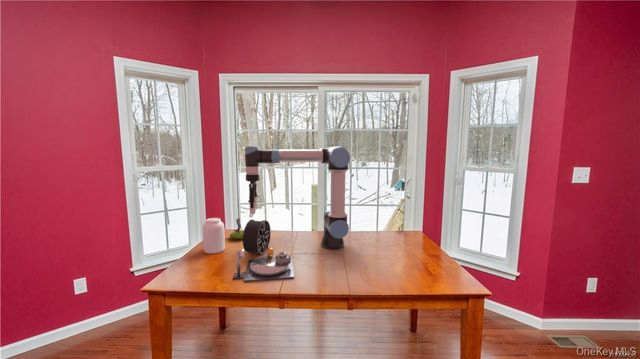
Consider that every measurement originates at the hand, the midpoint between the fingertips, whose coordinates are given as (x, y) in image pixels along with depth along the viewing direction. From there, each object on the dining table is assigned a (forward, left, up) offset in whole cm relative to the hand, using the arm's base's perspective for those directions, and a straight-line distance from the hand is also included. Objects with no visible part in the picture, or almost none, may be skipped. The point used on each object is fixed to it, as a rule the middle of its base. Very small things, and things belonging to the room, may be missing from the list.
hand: (253, 210), depth 153 cm
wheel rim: (-1, -8, -28) cm, 29 cm away
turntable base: (-9, +17, -28) cm, 34 cm away
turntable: (-9, +17, -27) cm, 33 cm away
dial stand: (+6, +23, -28) cm, 37 cm away
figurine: (+14, -35, -28) cm, 47 cm away
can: (+26, -15, -28) cm, 41 cm away
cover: (-16, +17, -24) cm, 34 cm away
